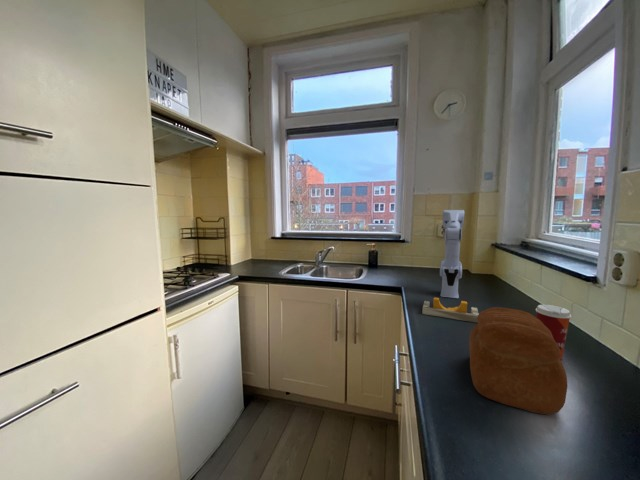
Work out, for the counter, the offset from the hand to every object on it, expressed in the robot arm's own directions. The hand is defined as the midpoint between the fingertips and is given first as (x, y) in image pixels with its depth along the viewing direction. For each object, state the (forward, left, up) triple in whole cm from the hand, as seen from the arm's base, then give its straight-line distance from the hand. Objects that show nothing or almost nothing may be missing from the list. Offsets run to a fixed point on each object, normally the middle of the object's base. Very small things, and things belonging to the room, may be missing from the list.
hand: (450, 285), depth 114 cm
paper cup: (+32, +26, -10) cm, 42 cm away
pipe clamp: (+11, 0, -10) cm, 15 cm away
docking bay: (+10, 0, -9) cm, 14 cm away
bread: (+52, +13, -10) cm, 54 cm away
